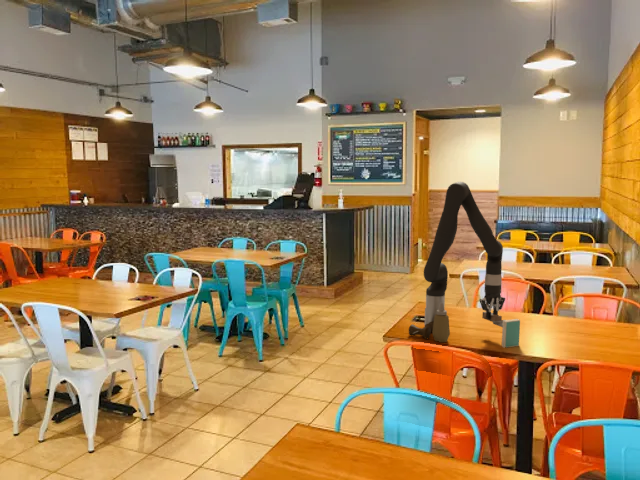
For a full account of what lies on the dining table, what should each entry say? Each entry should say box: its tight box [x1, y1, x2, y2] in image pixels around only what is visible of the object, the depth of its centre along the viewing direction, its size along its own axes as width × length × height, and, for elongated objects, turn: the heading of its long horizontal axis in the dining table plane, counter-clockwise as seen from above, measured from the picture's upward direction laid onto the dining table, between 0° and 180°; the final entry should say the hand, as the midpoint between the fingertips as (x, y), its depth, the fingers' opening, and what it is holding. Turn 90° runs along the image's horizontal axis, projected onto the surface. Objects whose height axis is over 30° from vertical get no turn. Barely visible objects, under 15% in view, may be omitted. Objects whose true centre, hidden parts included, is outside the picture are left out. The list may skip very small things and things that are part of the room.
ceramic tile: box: [501, 318, 521, 348], centre depth 244 cm, size 2×8×12 cm, turn 111°
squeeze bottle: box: [431, 303, 451, 343], centre depth 251 cm, size 8×8×18 cm
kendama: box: [408, 322, 434, 340], centre depth 261 cm, size 6×10×20 cm
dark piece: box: [482, 311, 505, 328], centre depth 253 cm, size 17×7×3 cm, turn 22°
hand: (491, 318), depth 256 cm, fingers closed on dark piece, 3 cm apart
